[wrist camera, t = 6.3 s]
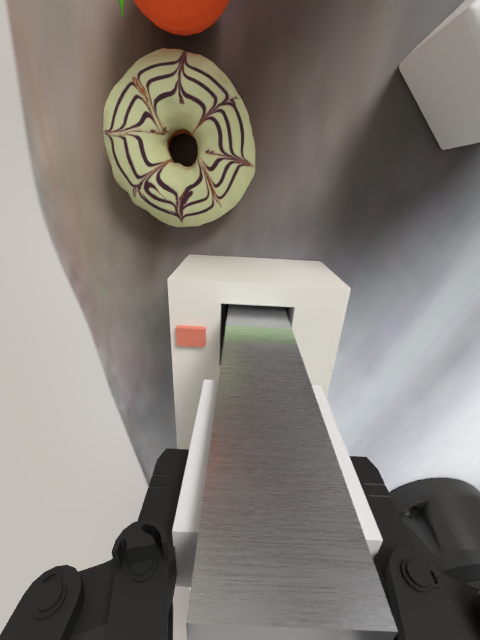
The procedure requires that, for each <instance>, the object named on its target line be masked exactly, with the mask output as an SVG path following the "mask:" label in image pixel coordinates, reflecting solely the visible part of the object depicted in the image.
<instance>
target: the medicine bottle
mask: <svg viewBox="0 0 480 640" xmlns="http://www.w3.org/2000/svg"><path fill="white" fill-rule="evenodd" d="M399 70H400V72H401V74H402V76H403V78H404V79H405V81H406V83H407V85H408V87H409V89H410V91H411V93H412V95H413V96H414V98H415V100H416V102H417V104H418V106H419V108H420V110H421V112H422V114H423V115H424V117H425V119H426V121H427V123H428V125H429V127H430V129H431V131H432V132H433V134H434V136H435V138H436V140H437V142H438V144H439V146H440V148H441V149H442V150H449V149H454V148H459V147H464V146H469V145H473V144H478V143H480V0H465V1H464V2H463V3H462V4H461V5H460V6H459V7H458V8H457V9H456V10H455V11H453V12H452V13H451V14H450V15H449V16H448V17H447V18H446V19H445V20H444V21H443V22H442V23H441V24H440V25H439V26H438V27H437V28H436V29H435V30H434V31H433V32H431V33H430V34H429V35H428V36H427V37H426V38H425V39H424V40H423V41H422V42H421V43H420V44H419V45H418V46H417V47H416V48H415V49H414V50H413V51H412V52H411V53H410V54H408V55H407V56H406V57H405V58H404V59H403V60H402V62H401V63H400V66H399Z"/></svg>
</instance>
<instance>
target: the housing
mask: <svg viewBox="0 0 480 640" xmlns="http://www.w3.org/2000/svg"><path fill="white" fill-rule="evenodd" d="M167 281H168V298H169V316H170V333H171V351H172V368H173V385H174V403H175V420H176V437H177V449H188V450H189V449H190V444H191V439H192V435H193V430H194V425H195V420H196V416H197V411H198V406H199V401H200V397H201V392H202V387H203V382H204V380H219V374H220V366H221V359H222V351H223V344H224V336H225V328H226V304H241V305H261V306H280V307H284V308H285V311H286V314H287V317H288V320H289V322H290V325H291V328H292V331H293V334H294V337H295V339H296V342H297V345H298V348H299V351H300V354H301V357H302V359H303V362H304V365H305V368H306V371H307V374H308V376H309V379H310V382H311V385H321V387H322V389H323V392H324V394H325V397H326V399H327V395H328V390H329V386H330V381H331V377H332V372H333V368H334V363H335V358H336V354H337V349H338V345H339V340H340V336H341V331H342V327H343V322H344V318H345V313H346V309H347V304H348V300H349V295H350V291H351V288H350V287H349V286H347V285H346V284H345V283H344V282H343V281H342V280H341V279H340V278H339V277H337V276H336V275H335V274H334V273H333V272H332V271H331V270H330V269H329V268H328V267H326V266H325V265H324V264H323V263H322V262H321V261H305V260H286V259H267V258H248V257H229V256H210V255H191V254H189V255H188V256H187V257H186V258H185V260H184V261H183V262H182V263H181V264H180V265H179V266H178V268H177V269H176V270H175V271H174V272H173V273H172V274H171V276H170V277H169V278H168V279H167Z"/></svg>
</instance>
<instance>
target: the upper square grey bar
mask: <svg viewBox="0 0 480 640" xmlns="http://www.w3.org/2000/svg"><path fill="white" fill-rule="evenodd" d="M186 625H187V640H393V639H394V638H395V636H396V634H397V633H398V630H397V627H396V624H395V621H394V618H393V616H392V613H391V610H390V607H389V604H388V601H387V599H386V596H385V593H384V590H383V587H382V584H381V581H380V579H379V576H378V573H377V570H376V567H375V564H374V562H373V559H372V556H371V553H370V550H369V547H368V544H367V542H366V539H365V536H364V533H363V530H362V527H361V525H360V522H359V519H358V516H357V513H356V510H355V507H354V505H353V502H352V499H351V496H350V493H349V490H348V488H347V485H346V482H345V479H344V476H343V473H342V470H341V468H340V465H339V462H338V459H337V456H336V453H335V450H334V448H333V445H332V442H331V439H330V436H329V433H328V431H327V428H326V425H325V422H324V419H323V416H322V413H321V411H320V408H319V405H318V402H317V399H316V396H315V394H314V391H313V388H312V385H311V382H310V379H309V376H308V374H307V371H306V368H305V365H304V362H303V359H302V357H301V354H300V351H299V348H298V345H297V342H296V339H295V337H294V334H293V331H292V328H291V325H290V322H289V320H288V317H287V314H286V311H285V308H284V307H280V306H261V305H241V304H229V306H228V313H227V321H226V328H225V336H224V344H223V351H222V359H221V366H220V374H219V381H218V389H217V396H216V404H215V411H214V419H213V427H212V434H211V442H210V449H209V457H208V464H207V472H206V479H205V487H204V494H203V502H202V509H201V517H200V525H199V532H198V540H197V547H196V555H195V562H194V570H193V577H192V585H191V592H190V600H189V607H188V615H187V623H186Z"/></svg>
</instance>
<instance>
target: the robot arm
mask: <svg viewBox="0 0 480 640" xmlns="http://www.w3.org/2000/svg"><path fill="white" fill-rule="evenodd" d="M218 381H219V380H204V382H203V387H202V392H201V397H200V401H199V406H198V411H197V416H196V420H195V425H194V430H193V435H192V439H191V444H190V449H189V450H188V449H166V450H165V451H164V452H163V453H162V455H161V456H160V457H159V458H158V460H157V462H156V465H155V469H154V472H153V476H152V478H151V481H150V484H149V488H148V490H147V494H146V497H145V500H144V503H143V506H142V509H141V512H140V515H139V518H138V521H137V522H134V523H132V524H131V525H129V526H128V527H127V528H125V529H124V530H123V531H122V533H121V534H120V535H119V537H118V538H117V539H116V541H115V544H114V547H113V550H112V555H113V559H111V560H110V561H107V562H105V563H103V564H100V565H97V566H94V567H91V568H88V569H85V570H82V571H79V572H78V571H77V570H76V569H75V568H74V567H71V566H68V565H63V566H56V567H54V568H52V569H50V570H48V571H46V572H44V573H43V574H42V575H41V576H40V577H38V578H37V579H36V580H35V581H34V582H33V583H32V584H31V586H30V587H29V588H28V590H27V591H26V592H25V594H24V595H23V597H22V599H21V600H20V602H19V604H18V605H17V607H16V609H15V611H14V612H13V614H12V616H11V617H10V619H9V621H8V623H7V625H6V626H5V628H4V630H3V631H2V633H1V635H0V640H173V595H174V589H175V584H177V585H176V586H186V587H191V585H192V577H193V570H194V562H195V555H196V547H197V540H198V532H199V525H200V517H201V509H202V502H203V494H204V487H205V479H206V472H207V464H208V457H209V449H210V442H211V434H212V427H213V419H214V411H215V404H216V396H217V389H218ZM312 388H313V391H314V394H315V396H316V399H317V402H318V405H319V408H320V411H321V413H322V416H323V419H324V422H325V425H326V428H327V431H328V433H329V436H330V439H331V442H332V445H333V448H334V450H335V453H336V456H337V459H338V462H339V465H340V468H341V470H342V473H343V476H344V479H345V482H346V485H347V488H348V490H349V493H350V496H351V499H352V502H353V505H354V507H355V510H356V513H357V516H358V519H359V522H360V525H361V527H362V530H363V533H364V536H365V539H366V542H367V544H368V547H369V550H370V553H371V556H372V559H373V562H374V564H375V567H376V570H377V573H378V576H379V579H380V581H381V584H382V587H383V590H384V593H385V596H386V599H387V601H388V604H389V607H390V610H391V613H392V616H393V618H394V621H395V624H396V627H397V630H398V633H397V634H396V636H395V638H394V639H393V640H480V492H479V491H478V490H477V489H476V488H475V487H474V486H472V485H471V484H469V483H467V482H464V481H461V480H457V479H450V478H432V479H425V480H420V481H416V482H413V483H410V484H407V485H405V486H402V487H400V488H398V489H396V490H394V491H393V492H391V493H390V494H389V492H388V490H387V488H386V486H385V485H384V481H383V479H382V477H381V475H380V473H379V471H378V469H377V468H376V467H375V466H374V465H373V464H372V463H371V461H370V460H369V459H368V458H367V457H355V456H349V454H348V452H347V449H346V447H345V444H344V442H343V439H342V437H341V434H340V432H339V429H338V427H337V424H336V422H335V419H334V417H333V414H332V412H331V409H330V407H329V404H328V402H327V399H326V397H325V394H324V392H323V389H322V387H321V385H312Z"/></svg>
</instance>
